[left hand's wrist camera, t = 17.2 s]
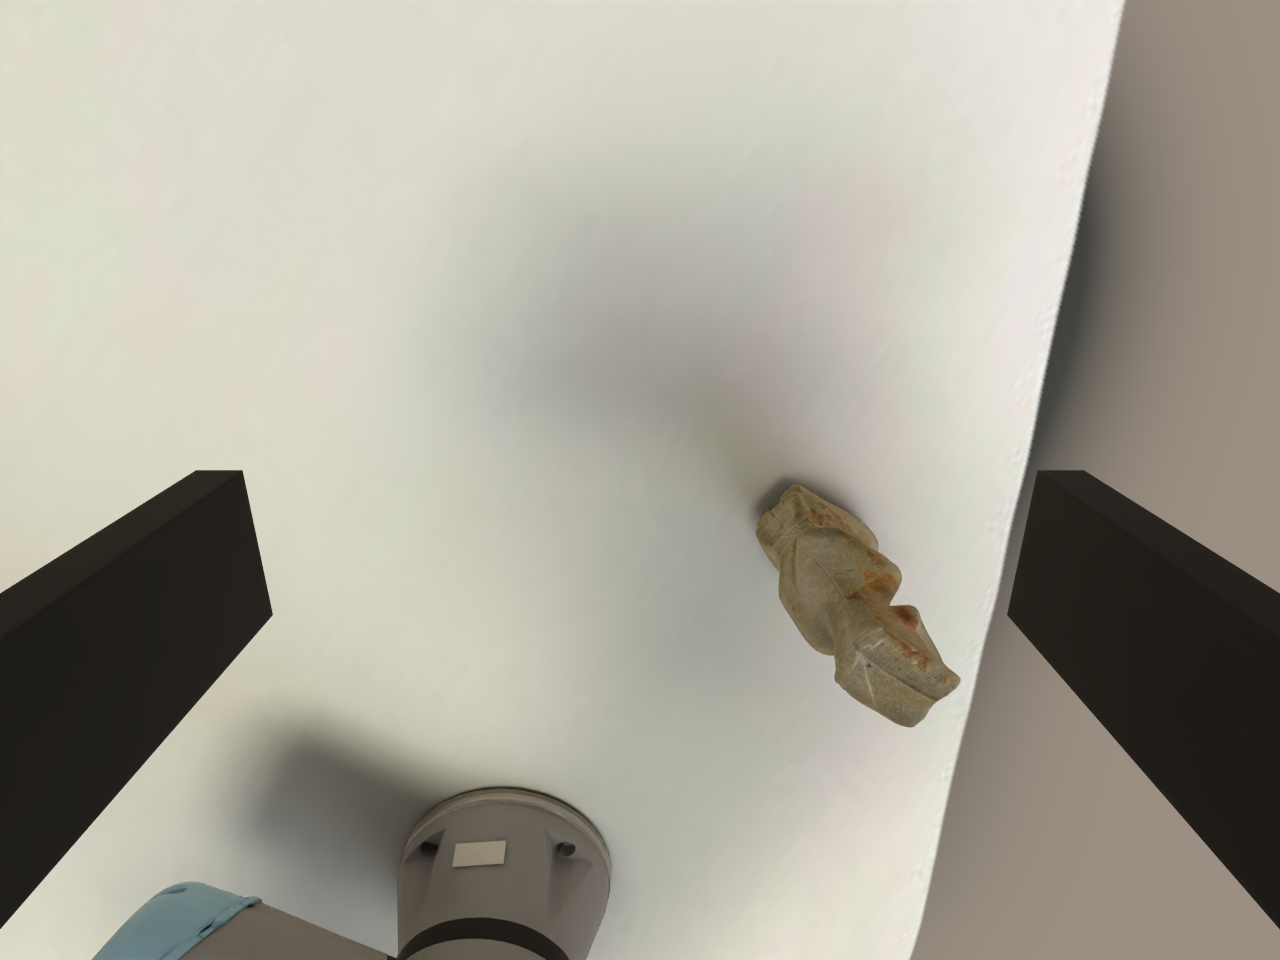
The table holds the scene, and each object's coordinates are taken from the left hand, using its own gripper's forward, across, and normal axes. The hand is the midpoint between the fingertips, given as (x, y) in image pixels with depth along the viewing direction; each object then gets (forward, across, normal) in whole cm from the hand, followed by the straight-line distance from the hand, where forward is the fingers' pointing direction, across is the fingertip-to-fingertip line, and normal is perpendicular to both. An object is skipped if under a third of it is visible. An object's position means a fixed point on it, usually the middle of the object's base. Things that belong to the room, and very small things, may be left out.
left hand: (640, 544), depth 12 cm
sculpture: (+29, -10, +13) cm, 34 cm away
